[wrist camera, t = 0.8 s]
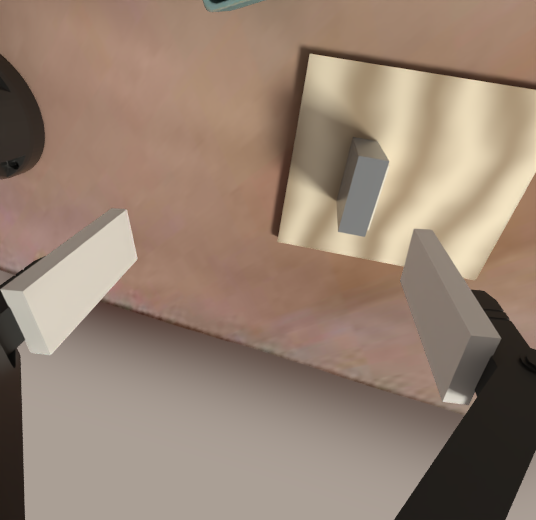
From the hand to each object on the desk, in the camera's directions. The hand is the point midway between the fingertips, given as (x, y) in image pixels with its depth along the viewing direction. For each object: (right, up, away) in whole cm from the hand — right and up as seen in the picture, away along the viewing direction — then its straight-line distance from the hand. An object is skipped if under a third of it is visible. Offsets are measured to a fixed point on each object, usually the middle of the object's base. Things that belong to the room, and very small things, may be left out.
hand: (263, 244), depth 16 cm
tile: (+10, +9, +20) cm, 24 cm away
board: (+15, +8, +21) cm, 27 cm away
